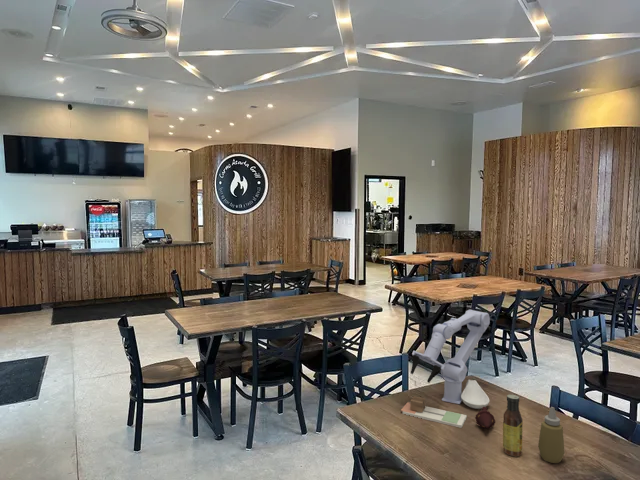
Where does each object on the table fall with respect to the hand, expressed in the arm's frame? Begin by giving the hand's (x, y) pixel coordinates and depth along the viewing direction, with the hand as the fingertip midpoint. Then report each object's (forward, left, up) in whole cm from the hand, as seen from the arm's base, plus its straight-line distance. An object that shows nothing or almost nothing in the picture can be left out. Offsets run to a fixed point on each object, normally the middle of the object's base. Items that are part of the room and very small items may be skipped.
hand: (419, 377), depth 181 cm
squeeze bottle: (+12, +49, -15) cm, 53 cm away
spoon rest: (-24, +18, -15) cm, 34 cm away
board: (0, +6, -15) cm, 16 cm away
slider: (0, -1, -14) cm, 14 cm away
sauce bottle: (+14, +37, -15) cm, 43 cm away
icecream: (0, +26, -15) cm, 30 cm away
